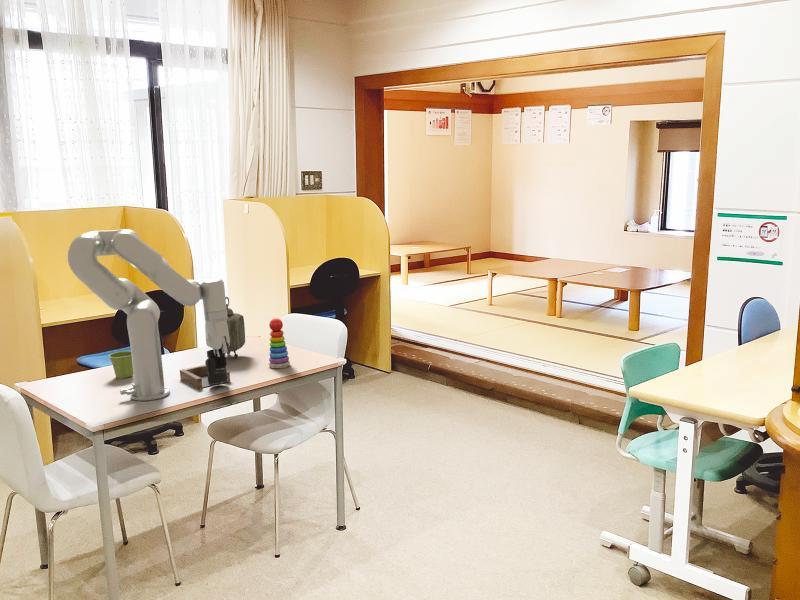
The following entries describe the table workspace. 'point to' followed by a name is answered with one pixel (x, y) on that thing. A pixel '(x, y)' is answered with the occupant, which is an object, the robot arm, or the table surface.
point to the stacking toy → (277, 346)
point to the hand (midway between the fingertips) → (221, 366)
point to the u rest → (197, 376)
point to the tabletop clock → (235, 330)
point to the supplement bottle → (215, 371)
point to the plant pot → (122, 364)
